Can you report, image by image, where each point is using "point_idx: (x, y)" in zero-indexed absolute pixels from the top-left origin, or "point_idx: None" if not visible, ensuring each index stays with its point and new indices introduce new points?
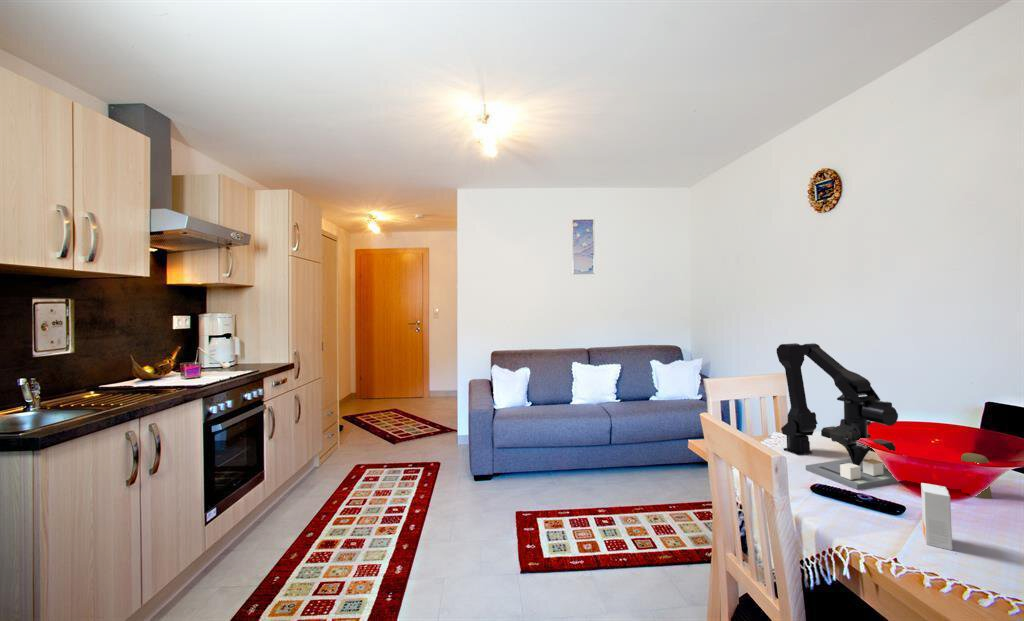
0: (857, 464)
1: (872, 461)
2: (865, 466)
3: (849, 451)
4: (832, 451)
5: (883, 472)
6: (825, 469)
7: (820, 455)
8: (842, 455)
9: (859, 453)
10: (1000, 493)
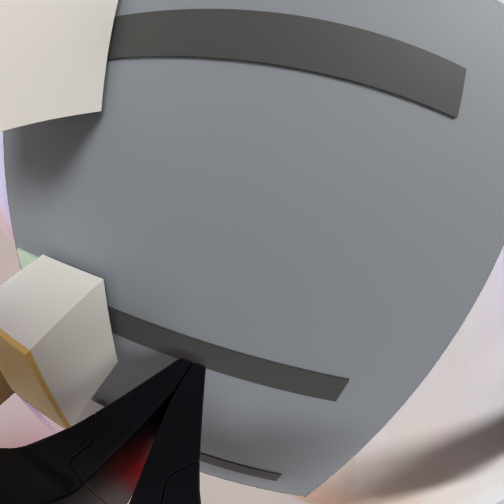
0: (163, 373)
1: (10, 367)
2: (43, 307)
3: (162, 498)
4: (429, 485)
5: None
6: (365, 28)
7: (478, 436)
8: (389, 482)
9: (34, 442)
10: None
